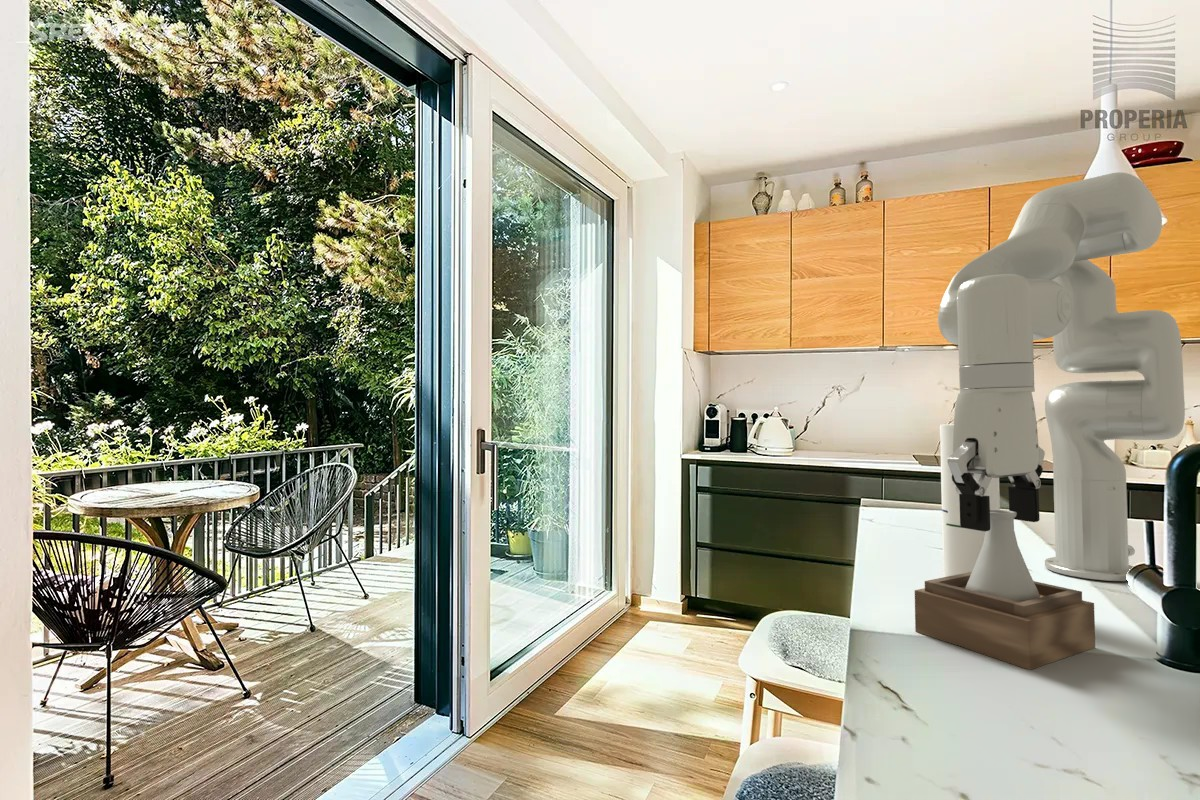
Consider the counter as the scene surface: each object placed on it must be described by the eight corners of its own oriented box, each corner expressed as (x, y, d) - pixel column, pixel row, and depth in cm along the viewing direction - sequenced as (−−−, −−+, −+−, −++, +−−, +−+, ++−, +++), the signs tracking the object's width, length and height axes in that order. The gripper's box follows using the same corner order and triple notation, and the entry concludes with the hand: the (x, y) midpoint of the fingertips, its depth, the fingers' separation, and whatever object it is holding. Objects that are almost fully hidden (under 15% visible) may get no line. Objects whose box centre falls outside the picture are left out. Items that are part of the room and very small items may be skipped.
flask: (952, 591, 75) (950, 509, 75) (992, 585, 78) (990, 505, 78) (1012, 608, 68) (1009, 517, 69) (1053, 600, 71) (1051, 513, 72)
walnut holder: (980, 615, 82) (979, 567, 82) (1095, 647, 70) (1093, 592, 70) (915, 631, 76) (914, 580, 76) (1029, 669, 64) (1027, 609, 64)
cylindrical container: (985, 593, 91) (981, 424, 92) (1013, 608, 84) (1008, 424, 85) (935, 592, 92) (931, 424, 93) (957, 607, 85) (953, 425, 86)
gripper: (1006, 382, 81) (1010, 513, 81) (919, 382, 73) (923, 527, 73) (1071, 379, 74) (1075, 521, 74) (983, 379, 67) (988, 539, 66)
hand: (1000, 524), depth 74 cm, fingers open, 9 cm apart
